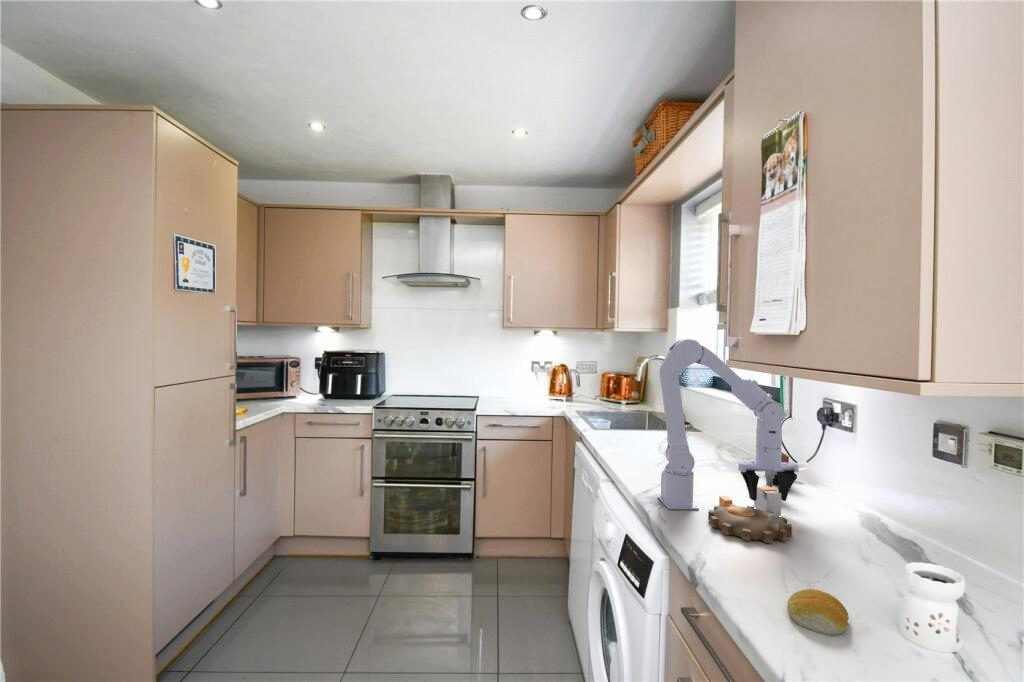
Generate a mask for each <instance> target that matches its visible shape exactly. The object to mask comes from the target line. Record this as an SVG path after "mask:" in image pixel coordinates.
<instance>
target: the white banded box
mask: <svg viewBox="0 0 1024 682" xmlns="http://www.w3.org/2000/svg"><path fill="white" fill-rule="evenodd" d="M753 507H755V508H756V509H758V510H762V511H766V510H768V511H771V512H774V514H777V515H779V516H781V517H782V500H781V493H780V492H778V489H776V488H774V487H773V486H772V487H769V486H766V485H757V499H756V501H753Z"/></svg>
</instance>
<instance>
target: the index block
mask: <svg viewBox="0 0 1024 682" xmlns="http://www.w3.org/2000/svg"><path fill="white" fill-rule="evenodd" d="M718 498H719V499H718V506H721V507H727V506H728V505H733V499H731V498H730V497H729V496H725V495H724V496H721V495H720V496H719V497H718Z"/></svg>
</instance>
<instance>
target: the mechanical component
mask: <svg viewBox="0 0 1024 682" xmlns="http://www.w3.org/2000/svg"><path fill="white" fill-rule="evenodd" d="M774 475H777V471H764V478H765V479H766V482H765V483H766V484H765V486H769V487H773V484H772V483H773V478H775V477H774Z"/></svg>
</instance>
